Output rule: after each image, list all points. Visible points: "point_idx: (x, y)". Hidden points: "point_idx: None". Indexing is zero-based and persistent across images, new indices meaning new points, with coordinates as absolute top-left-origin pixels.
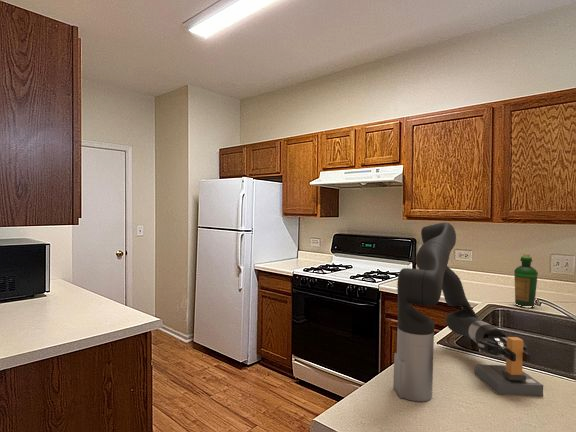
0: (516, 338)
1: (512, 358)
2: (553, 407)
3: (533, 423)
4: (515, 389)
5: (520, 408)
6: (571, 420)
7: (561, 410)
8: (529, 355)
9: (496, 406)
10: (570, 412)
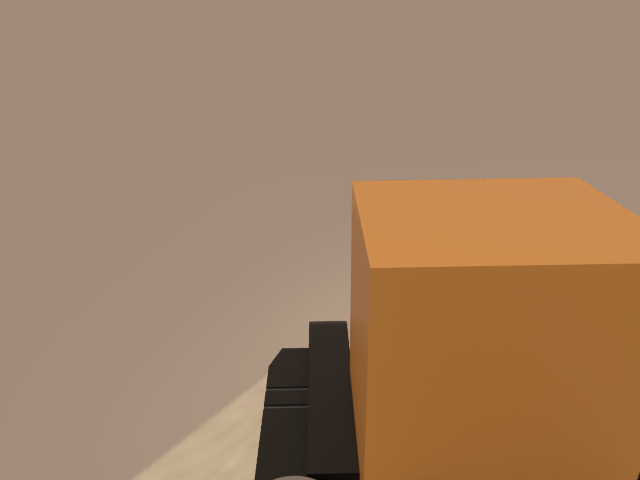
0: (453, 220)
1: None
2: (251, 477)
3: None
4: None
5: None
6: (262, 379)
7: (230, 450)
8: (287, 356)
9: None
10: (194, 435)
